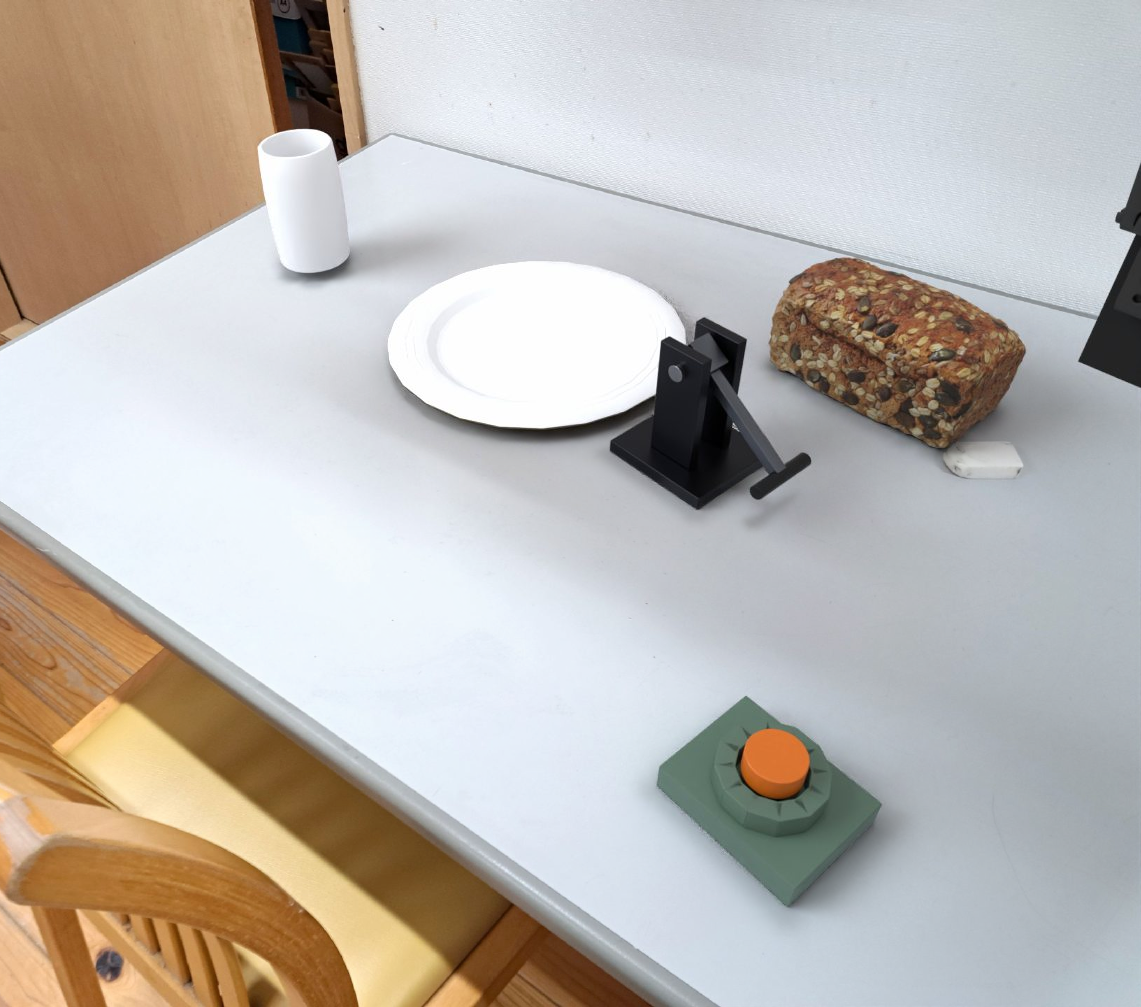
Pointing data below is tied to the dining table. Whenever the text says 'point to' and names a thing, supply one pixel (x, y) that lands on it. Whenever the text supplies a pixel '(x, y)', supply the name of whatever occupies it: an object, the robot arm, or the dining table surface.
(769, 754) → the button
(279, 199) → the cup
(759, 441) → the lever
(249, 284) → the dining table surface
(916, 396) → the bread
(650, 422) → the bracket
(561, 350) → the plate
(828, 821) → the control block
